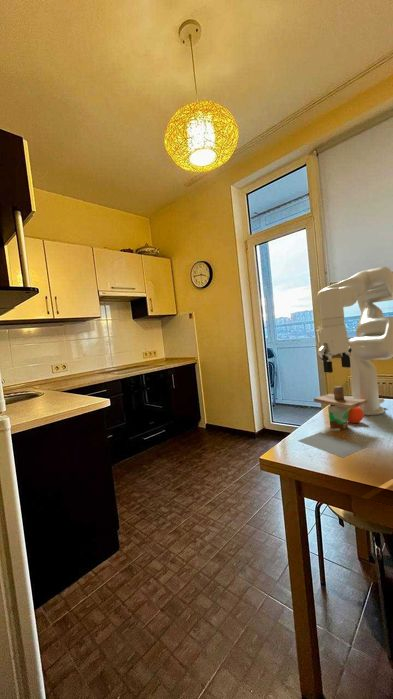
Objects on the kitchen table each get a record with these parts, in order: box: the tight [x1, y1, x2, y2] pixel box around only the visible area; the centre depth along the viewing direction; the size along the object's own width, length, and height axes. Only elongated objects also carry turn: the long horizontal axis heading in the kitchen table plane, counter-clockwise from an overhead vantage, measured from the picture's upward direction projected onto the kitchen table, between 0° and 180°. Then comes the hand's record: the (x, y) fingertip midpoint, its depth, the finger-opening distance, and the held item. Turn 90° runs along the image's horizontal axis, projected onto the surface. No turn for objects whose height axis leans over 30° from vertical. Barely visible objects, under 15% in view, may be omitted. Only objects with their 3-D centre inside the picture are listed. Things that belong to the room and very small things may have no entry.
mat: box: [297, 432, 367, 459], centre depth 93 cm, size 11×17×1 cm, turn 27°
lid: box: [313, 385, 367, 409], centre depth 105 cm, size 9×15×6 cm, turn 28°
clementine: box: [347, 407, 364, 424], centre depth 110 cm, size 8×7×7 cm
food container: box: [327, 405, 349, 432], centre depth 106 cm, size 12×6×10 cm, turn 148°
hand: (337, 369), depth 105 cm, fingers open, 9 cm apart
